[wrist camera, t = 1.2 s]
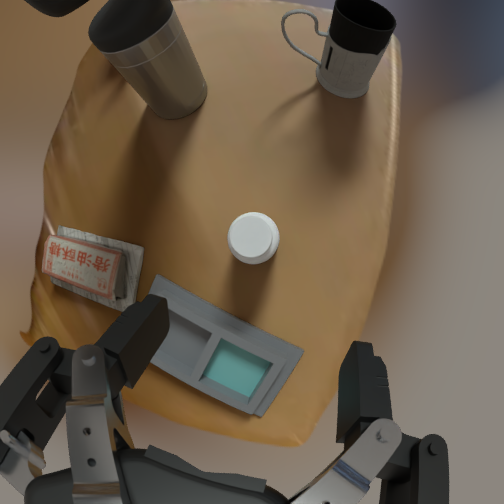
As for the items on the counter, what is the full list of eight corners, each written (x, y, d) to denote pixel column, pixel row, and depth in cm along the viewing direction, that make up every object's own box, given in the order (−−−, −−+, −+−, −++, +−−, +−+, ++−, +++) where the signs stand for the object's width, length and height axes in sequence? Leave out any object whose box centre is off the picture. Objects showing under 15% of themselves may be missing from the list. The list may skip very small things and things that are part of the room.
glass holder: (373, 101, 33) (410, 42, 18) (282, 94, 35) (283, 23, 20) (363, 61, 33) (389, 1, 19) (279, 54, 35) (279, -14, 20)
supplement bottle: (277, 263, 35) (279, 266, 25) (235, 261, 35) (220, 264, 25) (278, 220, 35) (281, 208, 25) (236, 219, 35) (223, 206, 25)
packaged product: (37, 284, 33) (44, 223, 33) (55, 281, 38) (62, 225, 38) (119, 320, 32) (130, 245, 32) (136, 313, 37) (146, 246, 36)
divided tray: (130, 343, 36) (120, 350, 33) (158, 274, 36) (148, 276, 33) (261, 414, 35) (260, 426, 31) (303, 349, 34) (306, 358, 31)
